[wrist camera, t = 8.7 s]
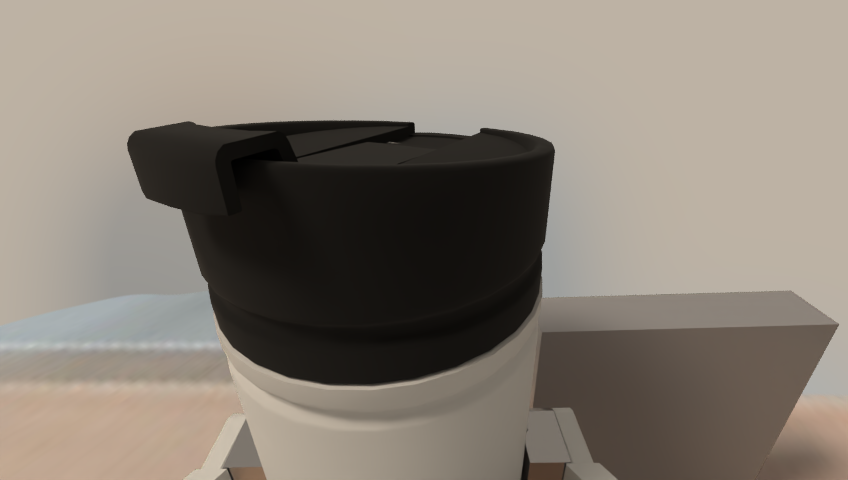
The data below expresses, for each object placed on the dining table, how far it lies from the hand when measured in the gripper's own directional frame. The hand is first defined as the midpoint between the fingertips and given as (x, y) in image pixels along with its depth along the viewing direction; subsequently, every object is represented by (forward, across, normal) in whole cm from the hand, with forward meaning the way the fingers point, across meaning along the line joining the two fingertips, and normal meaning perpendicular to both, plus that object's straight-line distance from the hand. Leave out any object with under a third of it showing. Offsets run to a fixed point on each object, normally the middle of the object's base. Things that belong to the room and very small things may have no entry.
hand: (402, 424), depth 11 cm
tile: (+4, +10, -11) cm, 16 cm away
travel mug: (-1, 0, -11) cm, 11 cm away
